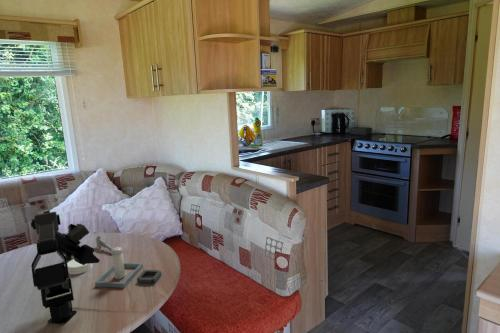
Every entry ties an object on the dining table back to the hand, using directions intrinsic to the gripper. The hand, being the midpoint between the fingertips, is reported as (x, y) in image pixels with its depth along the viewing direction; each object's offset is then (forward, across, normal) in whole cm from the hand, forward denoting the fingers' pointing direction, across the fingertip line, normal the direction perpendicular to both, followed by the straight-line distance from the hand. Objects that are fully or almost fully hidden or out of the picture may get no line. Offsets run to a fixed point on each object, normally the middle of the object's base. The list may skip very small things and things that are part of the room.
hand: (92, 258), depth 129 cm
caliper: (+25, +28, -5) cm, 38 cm away
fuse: (+17, +1, +2) cm, 17 cm away
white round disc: (+13, +23, +6) cm, 28 cm away
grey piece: (+21, -11, -2) cm, 24 cm away
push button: (+15, +36, +5) cm, 39 cm away
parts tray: (+17, +1, +2) cm, 17 cm away
